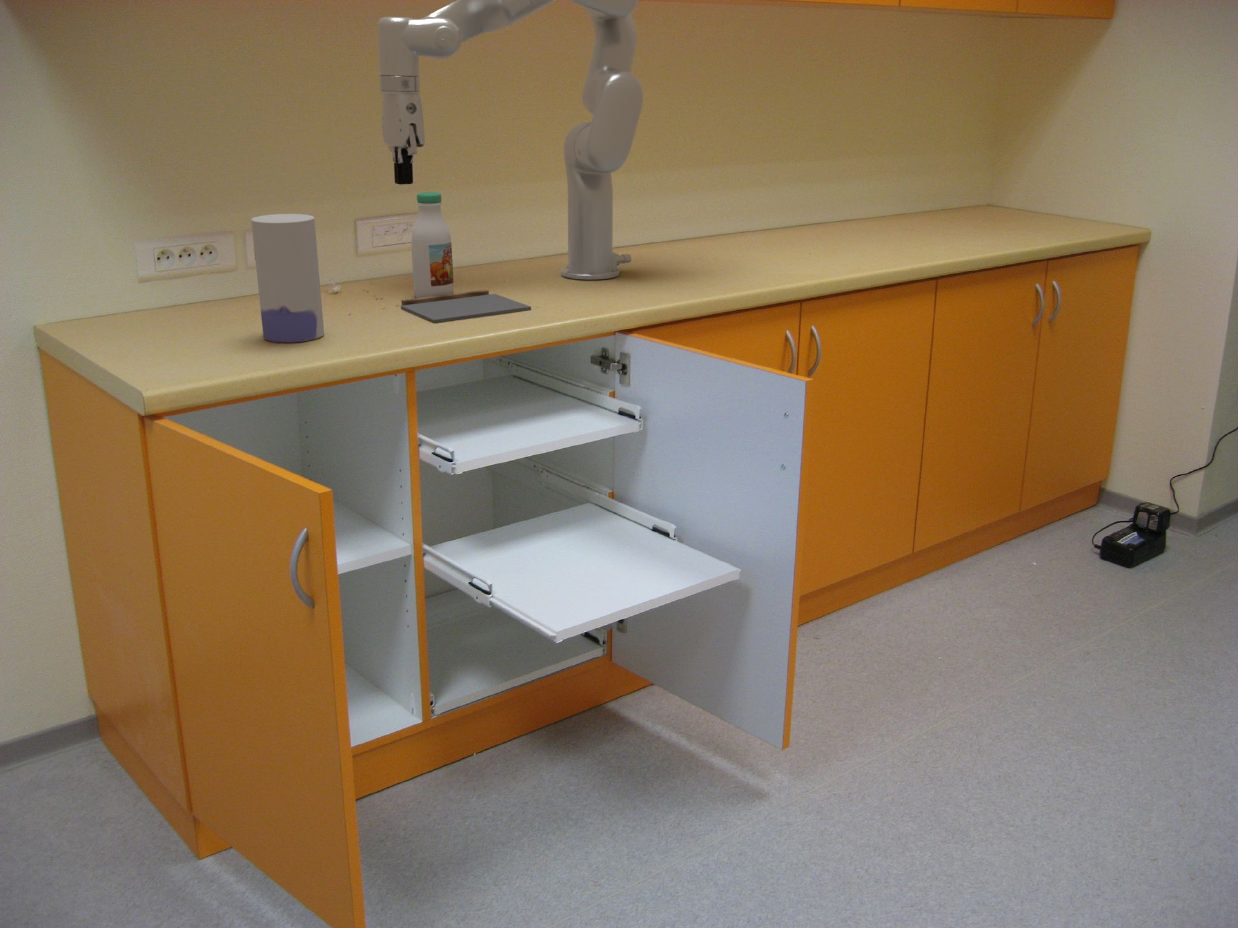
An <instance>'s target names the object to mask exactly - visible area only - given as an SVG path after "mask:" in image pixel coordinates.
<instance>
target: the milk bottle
mask: <svg viewBox="0 0 1238 928" xmlns="http://www.w3.org/2000/svg"><path fill="white" fill-rule="evenodd" d="M416 200H417V201H416V202H417V204H416V206H418V213H417V216H416V220H415V223H414V225H413V228H412V233H411V260H412V261H411V262H412V263H411V264H412V279H413V280H412V281H413V295H414V297H415V298H423V297H431V296H439V295H447V294H455V293H454V291H455V290H454V289H455V286H454V285H455V284H454V269H453V268H454V267H453V264H454V262H453V250H452V249H453V248H452V238H451V232H450V228H449V226H448V224H447V222H446V221H445V219H444V218H445V217H444V216H443V212H442V210H441V209H442V208H441V206H442V194H441V193H440V192H435V191H433V192H429V191H428V192H426V191H425V192H424V191H423V192H419V193H417V195H416Z"/></svg>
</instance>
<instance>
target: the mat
mask: <svg viewBox="0 0 1238 928" xmlns="http://www.w3.org/2000/svg"><path fill="white" fill-rule="evenodd" d="M400 310H402V311H405V312H407V313H409V314H412V315H414V316H417V317H419V318H421V319H423V320H426V321H428V322H430V323H433V324H439V323H446V322H453V321H460V320H466V319H475V318H482V317H483V318H484V317H488V316H497V315H503V314H504V315H505V314H510V313H518V312H524V311H525V312H527V311H531V310H532V306H530V305H527V304H524V303H522V302H519V301H517V300H513V299H510V298H508V297H505V296H503V295H501V294H500V295H499V294H497V293H490V294H489V295H481V296H473V297H466V298H458V299H450V300H442V301H434V302H427V303H419V304H411V305H403V306H402V305H400Z"/></svg>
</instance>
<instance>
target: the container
mask: <svg viewBox="0 0 1238 928" xmlns="http://www.w3.org/2000/svg"><path fill="white" fill-rule="evenodd" d="M250 221H251V230H252V240H253V251H254V259H255V268H256V269H255V270H256V279H257V290H258V297H259V299H258V300H259V307H260V317H261V326H262V335H263V336H262V337H263V339H265V340H267V341H268V342H269V341H270V342H275V343H298V342H299V343H300V342H306V341H307V342H308V341H313V340H316V339H319V338H321V337H323V336H324V335H325V329H324V328H325V327H324V315H323V314H324V313H323V304H322V294H321V293H322V292H321V281H320V279H321V278H320V269H319V257H318V248H317V247H318V245H317V243H318V242H317V235H316V223H315V222H316V221H315V216H313V215H311V214H310V215H309V214H303V213H302V214H301V213H276V214H274V213H273V214H265V215H260V216H259V215H258V216H255V217H252V218H251V220H250Z"/></svg>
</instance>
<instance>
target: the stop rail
mask: <svg viewBox="0 0 1238 928" xmlns="http://www.w3.org/2000/svg"><path fill="white" fill-rule="evenodd" d="M489 293H490V292H489V290H487V289H481V290H474V291H473V290H472V291H463V292H456V293H454V294H447V295H439V296H431V297H423V298H416V297H415V298H409V299H401V306H403V305H411V304H419V303H427V302H434V301H442V300H450V299H458V298H466V297H473V296H481V295H489Z"/></svg>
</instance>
